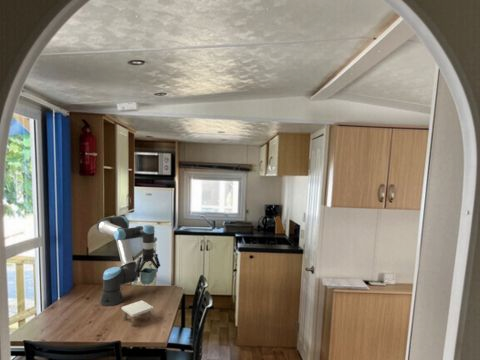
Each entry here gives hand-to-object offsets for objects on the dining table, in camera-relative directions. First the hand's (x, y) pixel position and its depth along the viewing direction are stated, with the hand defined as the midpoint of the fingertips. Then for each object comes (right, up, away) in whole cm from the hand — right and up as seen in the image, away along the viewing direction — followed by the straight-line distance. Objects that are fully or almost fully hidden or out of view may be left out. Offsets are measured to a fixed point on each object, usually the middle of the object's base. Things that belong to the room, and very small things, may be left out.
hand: (147, 279), depth 196 cm
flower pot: (0, -3, 0) cm, 3 cm away
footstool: (-1, -20, -17) cm, 26 cm away
